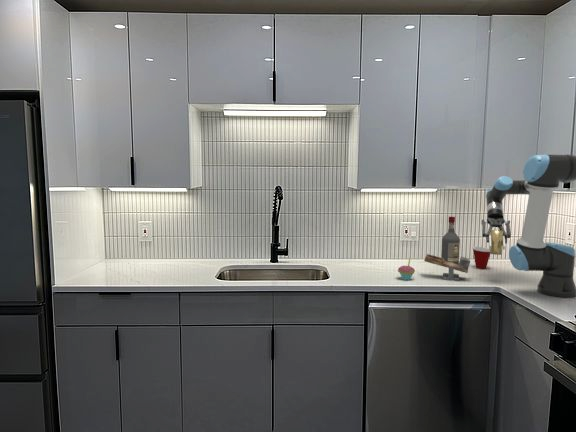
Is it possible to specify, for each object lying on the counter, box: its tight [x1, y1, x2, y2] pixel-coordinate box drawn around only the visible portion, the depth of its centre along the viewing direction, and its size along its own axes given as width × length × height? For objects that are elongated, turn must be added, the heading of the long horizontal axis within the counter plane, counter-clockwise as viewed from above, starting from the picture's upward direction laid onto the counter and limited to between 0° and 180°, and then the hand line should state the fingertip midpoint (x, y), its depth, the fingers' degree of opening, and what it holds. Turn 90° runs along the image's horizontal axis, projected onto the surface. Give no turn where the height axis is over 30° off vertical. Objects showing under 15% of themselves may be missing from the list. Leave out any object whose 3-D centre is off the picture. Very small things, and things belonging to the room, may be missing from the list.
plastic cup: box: [472, 246, 491, 270], centre depth 229 cm, size 11×11×12 cm
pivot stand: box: [442, 262, 460, 282], centre depth 206 cm, size 8×11×8 cm
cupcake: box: [397, 258, 416, 281], centre depth 204 cm, size 9×8×12 cm
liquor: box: [440, 216, 461, 265], centre depth 238 cm, size 9×9×30 cm
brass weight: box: [490, 229, 503, 256], centre depth 197 cm, size 6×6×12 cm
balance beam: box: [423, 253, 471, 274], centre depth 206 cm, size 22×8×6 cm, turn 67°
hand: (497, 247), depth 194 cm, fingers closed on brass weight, 5 cm apart
